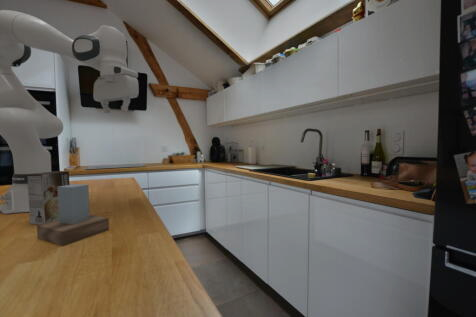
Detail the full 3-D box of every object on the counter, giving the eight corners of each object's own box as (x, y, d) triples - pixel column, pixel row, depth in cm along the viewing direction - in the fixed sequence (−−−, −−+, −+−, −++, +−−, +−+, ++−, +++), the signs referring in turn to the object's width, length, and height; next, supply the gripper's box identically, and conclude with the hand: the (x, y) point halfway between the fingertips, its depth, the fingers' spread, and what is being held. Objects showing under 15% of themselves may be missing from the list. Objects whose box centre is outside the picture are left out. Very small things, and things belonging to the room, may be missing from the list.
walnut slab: (37, 239, 61) (36, 224, 61) (83, 225, 72) (83, 213, 72) (63, 247, 56) (62, 231, 56) (108, 231, 67) (108, 218, 67)
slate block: (58, 222, 62) (57, 186, 62) (76, 217, 67) (74, 184, 67) (72, 224, 61) (71, 187, 61) (89, 219, 66) (88, 184, 65)
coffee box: (57, 215, 81) (55, 170, 80) (72, 216, 80) (70, 171, 79) (28, 224, 72) (26, 173, 71) (45, 225, 71) (42, 174, 70)
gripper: (87, 75, 84) (89, 112, 85) (126, 66, 76) (127, 108, 76) (103, 79, 90) (105, 115, 91) (141, 72, 81) (142, 111, 82)
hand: (115, 112), depth 84 cm, fingers open, 8 cm apart
